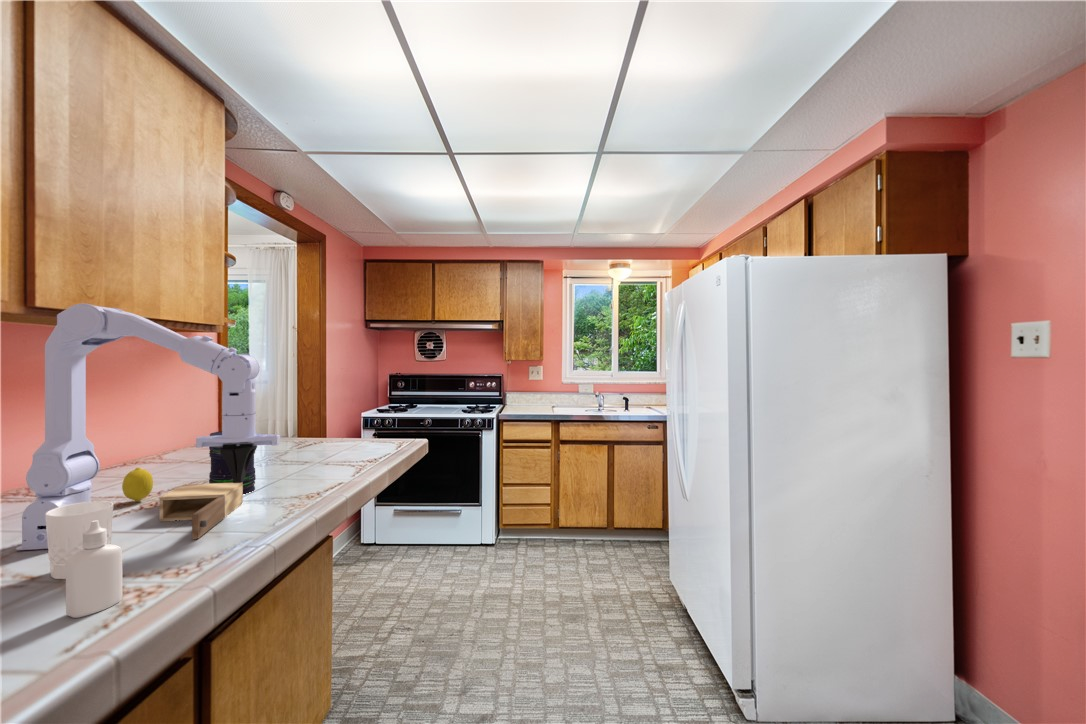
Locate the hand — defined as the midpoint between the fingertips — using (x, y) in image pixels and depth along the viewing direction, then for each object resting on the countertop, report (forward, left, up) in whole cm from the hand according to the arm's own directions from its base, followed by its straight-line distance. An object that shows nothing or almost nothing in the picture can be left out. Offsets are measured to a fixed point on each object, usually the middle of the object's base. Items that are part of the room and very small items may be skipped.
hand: (239, 481), depth 98 cm
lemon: (+22, +29, -9) cm, 38 cm away
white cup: (-17, +17, -9) cm, 25 cm away
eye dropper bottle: (-31, +7, -9) cm, 33 cm away
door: (0, +5, -9) cm, 10 cm away
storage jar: (+27, +11, -9) cm, 31 cm away
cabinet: (+11, +11, -9) cm, 18 cm away
